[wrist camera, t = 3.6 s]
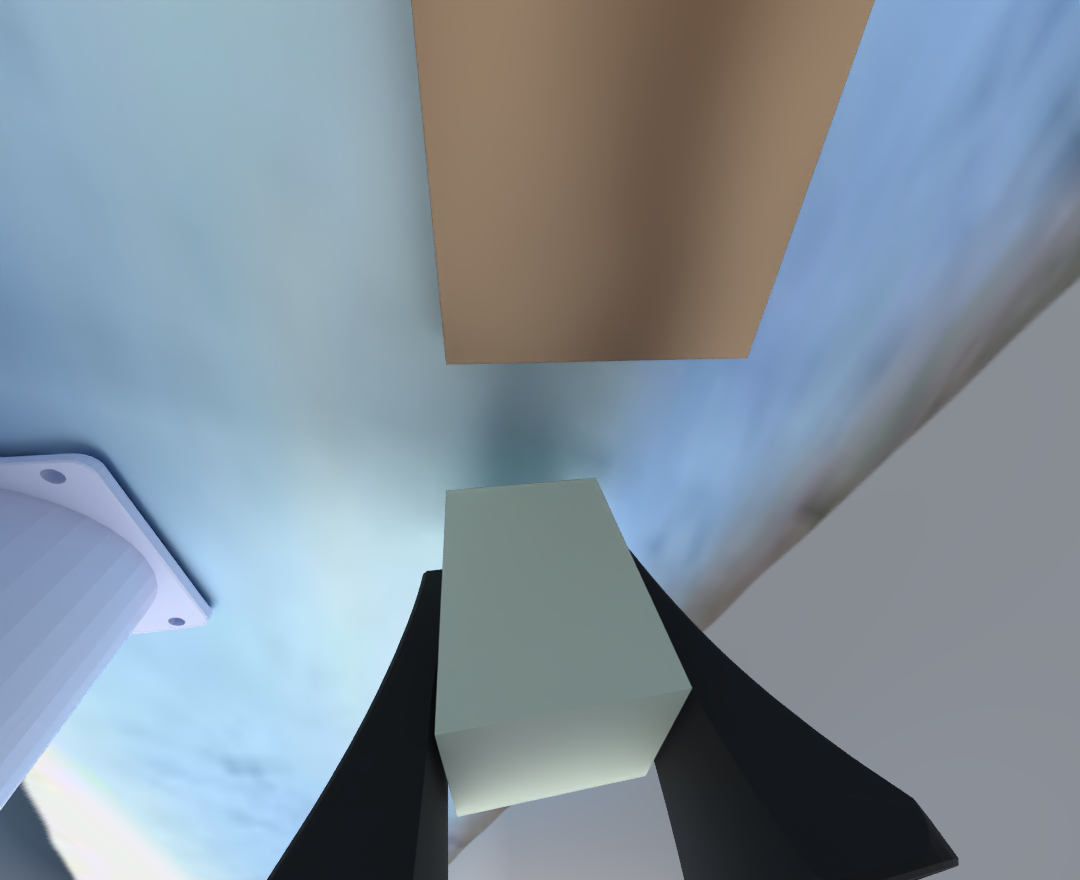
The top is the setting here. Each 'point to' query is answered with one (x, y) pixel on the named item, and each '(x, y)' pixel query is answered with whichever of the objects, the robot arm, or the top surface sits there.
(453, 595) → the sage block
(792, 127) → the walnut base block
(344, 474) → the top surface
